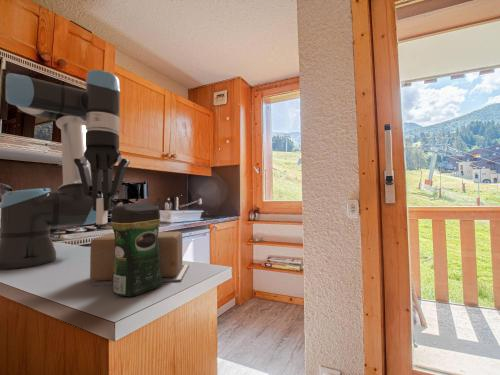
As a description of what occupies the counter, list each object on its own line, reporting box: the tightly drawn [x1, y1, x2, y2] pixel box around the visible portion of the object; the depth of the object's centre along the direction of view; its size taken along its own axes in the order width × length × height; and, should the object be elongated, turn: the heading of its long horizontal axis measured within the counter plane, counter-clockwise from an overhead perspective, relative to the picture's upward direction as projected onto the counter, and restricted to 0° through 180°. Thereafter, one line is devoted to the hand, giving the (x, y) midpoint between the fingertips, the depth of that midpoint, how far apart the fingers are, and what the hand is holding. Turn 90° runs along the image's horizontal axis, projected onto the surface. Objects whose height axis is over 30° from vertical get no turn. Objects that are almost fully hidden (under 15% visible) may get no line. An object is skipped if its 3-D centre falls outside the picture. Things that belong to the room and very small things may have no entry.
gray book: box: [91, 264, 190, 287], centre depth 64 cm, size 13×20×1 cm, turn 96°
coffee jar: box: [110, 202, 163, 297], centre depth 53 cm, size 10×8×19 cm
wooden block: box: [89, 231, 183, 282], centre depth 63 cm, size 10×10×20 cm
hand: (101, 223), depth 63 cm, fingers closed
